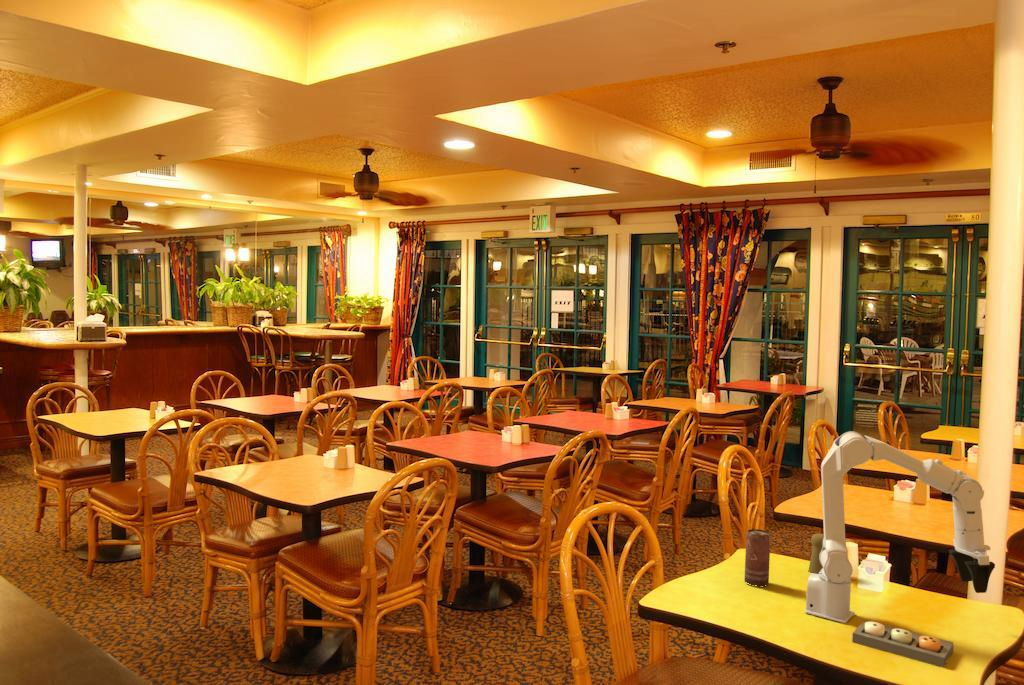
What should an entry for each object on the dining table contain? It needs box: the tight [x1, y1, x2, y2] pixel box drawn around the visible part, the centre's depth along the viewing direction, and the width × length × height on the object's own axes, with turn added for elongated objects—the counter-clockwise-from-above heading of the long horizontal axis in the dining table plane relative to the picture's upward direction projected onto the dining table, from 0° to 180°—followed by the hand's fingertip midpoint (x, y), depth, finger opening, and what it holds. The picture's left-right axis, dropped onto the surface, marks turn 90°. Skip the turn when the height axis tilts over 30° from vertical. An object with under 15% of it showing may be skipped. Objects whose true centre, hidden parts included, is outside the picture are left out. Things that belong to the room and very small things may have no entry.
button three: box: [919, 635, 941, 653], centre depth 165 cm, size 4×4×2 cm
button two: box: [891, 628, 912, 645], centre depth 169 cm, size 4×4×2 cm
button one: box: [864, 621, 885, 638], centre depth 172 cm, size 4×4×2 cm
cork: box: [807, 533, 824, 574], centre depth 216 cm, size 6×6×11 cm
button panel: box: [851, 619, 955, 668], centre depth 170 cm, size 18×10×2 cm, turn 51°
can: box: [744, 528, 771, 587], centre depth 206 cm, size 6×6×14 cm
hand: (973, 586), depth 179 cm, fingers open, 7 cm apart
